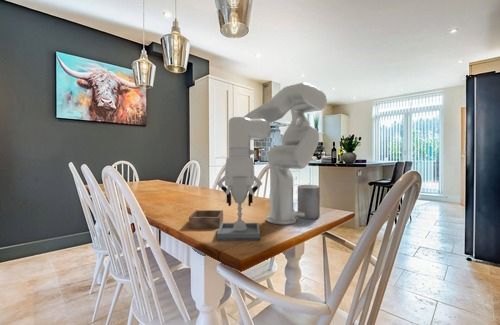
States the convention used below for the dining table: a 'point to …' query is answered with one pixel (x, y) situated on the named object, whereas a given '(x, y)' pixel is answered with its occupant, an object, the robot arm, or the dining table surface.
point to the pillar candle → (309, 201)
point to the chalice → (239, 199)
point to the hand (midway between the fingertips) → (239, 204)
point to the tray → (238, 232)
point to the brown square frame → (206, 219)
